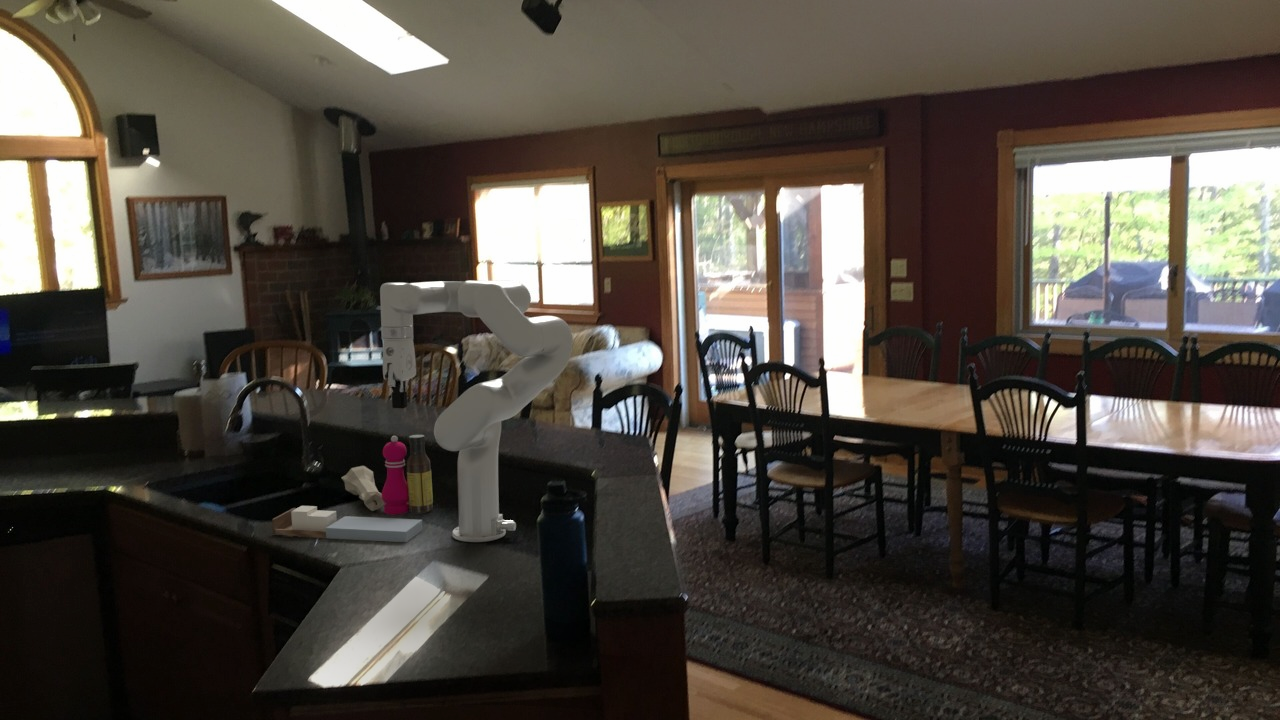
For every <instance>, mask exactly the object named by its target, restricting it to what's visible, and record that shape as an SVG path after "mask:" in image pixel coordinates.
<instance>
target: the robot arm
mask: <svg viewBox="0 0 1280 720" xmlns="http://www.w3.org/2000/svg"><path fill="white" fill-rule="evenodd" d="M379 294H380V295H379V296H380V298H379V299H380V322H381V323H380V324H381V326H380V327H381V329H380V330H381V332H380V333H381V340H382V341H383V347H382V375H383V379H384V380H385V381H387V386H388V387H389V388H390V392H391V404H392V405H391V406H392V408H393V409H405V408H407V407H408V394H407V393H408V392H407V391H408V382H409V381H410V379H413V378H415V376H416V375H417V362H416V351H415V345H414V344H415V343H414V318H413V317H414V315H423V314H432V313H444V312H445V313H462V314H463V316H465V317H468V318H480V320H481V321H482V322H483V324H484V325H485V326H486V327H487V328H488V329H489V330H490V331H491V333H493V334H494V336H495V337H496V338H497V339H498V340H499V341H500V343H501V344H502V345H503V346H504V347H505V348H506V349H507V350H508V351H510V353H512V354H513V355H516V356H518V357H521V358H522V359H521V360H519V361H518V362H516V364H514V365H513V366H512V367H511V368H510V369H509V370H508V371H506V373H505V374H503V375H502V376H500V377H498V378H495V379H490V380H487V381H483V382H479V383H477V384H474V385H473V386H471V387H469V388H467V389H466V390H464V391H463V393H462V394H460V396H459V397H457V398H456V399H455V400H454V401H453V402H452V403H451V404H450V405H449V406H448V407H446V408H445V410H443V411H442V412H441V413H440V414H439V415H438V417H437V419H436V421H435V423H434V427H433V435H434V439H435V441H436V444H438V445H439V446H440V447H441V448H442V449H444V450H446V451H450V452H458V451H459V452H458V457H457V499H458V500H457V503H458V504H457V505H458V507H457V508H458V526H456V527H454V529H453V530H452V535H451V536H452V538H453V539H455V540H456V541H457V540H458V541H459V542H467V543H485V542H486V543H487V542H491V541H495V540H499V539H501V538H503V537H504V536H506V533H507V531H514V532H515V531H516V528H517V522H515V520H511V519H510V520H508V519H506V520H505V519H504V518H503V517H504V516H503V515H504V514H503V513H500V507H499V506H500V503H499V499H500V498H499V447H500V439H501V434H502V422H503V421H505V420H509V419H511V418H513V417H515V416H516V415H517V414H519V413H520V412H521V411H522V410H523V409H524V408H525V407H526V406H527V405H528V404H529V403H531V402H532V401H533V400H534V399H535V398H537V397H538V396H539V394H540V393H541V392H542V391H544V389H546V388H547V387H548V386H549V385H550V384H552V383H553V382H554V381H555V380H556V379H557V378H558V377H559V376H560V375H561V373H562V372H563V371H564V370H565V369H566V367H567V365H568V364H569V361H570V359H571V357H572V352H573V345H574V344H573V343H574V341H573V340H574V338H573V332H572V329H571V328H570V326H569V325H568V323H567V322H566V321H565V319H562V318H561V317H558V316H555V315H539V316H531V317H527V316H525V313H527V311H528V310H529V307H530V306H531V301H532V298H531V293H530V291H529V289H528V288H527V287H526V286H525V285H524V284H523V283H520V282H517V281H514V280H473V279H472V280H465V281H444V280H443V281H442V280H441V281H440V280H438V281H421V282H420V281H419V282H410V283H409V282H399V281H398V282H396V281H395V282H385V283H382V284H381V286H380V289H379Z"/></svg>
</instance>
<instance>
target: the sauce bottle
mask: <svg viewBox="0 0 1280 720" xmlns="http://www.w3.org/2000/svg"><path fill="white" fill-rule="evenodd" d="M425 437H426V436H425V435H424V434H413V435H409V436H408V443H409V457H408V458H407V460H406V482H407V486H408V494H409V499H408V501H407V503H408V504H409V512H410V513H413V514H425V513H429V512H431V511H432V510H433V507H434V506H433V502H434V500H433V497H434V496H433V495H434V494H433V482H432V481H433V479H432V469H431V459H430V458H429V457H428V455H427V454H426V449H425V448H426V447H425V442H426V438H425Z"/></svg>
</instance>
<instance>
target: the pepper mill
mask: <svg viewBox="0 0 1280 720" xmlns="http://www.w3.org/2000/svg"><path fill="white" fill-rule="evenodd" d="M398 440H399V438H398V436H397V435H392V436H391V438H390V442H386V444H385V445H384V446H383V449H382V456H383V458H384V459H385V461H384V463H385V464H384V466H385V467H386V470H387V472H386V473H387V474H386V480H385V482H384V486H383V487H382V491H381V494H382V499H383V501H384V503H385V504H384V505H383V511H384V513H385V514H387V515H393V516H394V515H395V516H396V515H404V514H405V513H408V512H410V510H409V502H408V499H409V494H408V486H407V479H406V477H405V474H404V467H405V466H406V463H405V462H406V460H405V457H406V456H407V452H408V450H407V447H406V445H405V444H404V443H403V442H402V441H398Z"/></svg>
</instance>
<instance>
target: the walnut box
mask: <svg viewBox="0 0 1280 720" xmlns="http://www.w3.org/2000/svg"><path fill="white" fill-rule="evenodd" d="M295 509H296V507H293V508H290V509H289V510H287V511H285V512H283V513H281V514H279V515H278V516H276V517H274V518H272V520H271V521H272V525H271V526H272V535H273V534H283V535H288V536H287V537H293V536H298V537H297V538H312V539H313V538H315V539H316V538H318V539H327V538H326V531H311V530H292V515H291V511H293V510H295ZM338 520H339V519H337V521H338Z"/></svg>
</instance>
